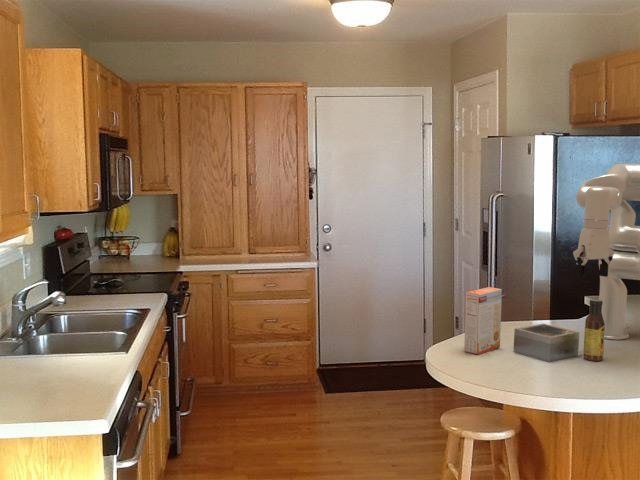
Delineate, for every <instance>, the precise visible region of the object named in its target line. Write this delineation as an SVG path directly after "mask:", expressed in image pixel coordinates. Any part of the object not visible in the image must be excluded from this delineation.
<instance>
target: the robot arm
mask: <svg viewBox="0 0 640 480" xmlns="http://www.w3.org/2000/svg"><path fill="white" fill-rule="evenodd" d="M627 201H635V202H640V163H618V164H616V163H615V164H614V165H612V166H611V167H610V168H609V170H607V172H606V173H605V174H603V175H600V176H596V177H593V178H590V179H587V180H585V181H584V182H583V183H582V184H581V185H580V186H579V188H578V190H577V192H576V203H577V205H578V206H579V207H580V208H582V209H585V210H584V220H583V228H582V229H581V230H580V234H579V239H578V246H577V249H575V250H573V252H572V255H573V257H574V261H575V263H576V266H577V272H576V273H577V275H576V276H577V278H583V279H584V278H586V277H587V265H586V264H587V262H588V261H589V260H590V261H591V260H594V261H595V260H598V268H599V269H598V270H599V273H598V276H599V297H598V299H599V300H602V301H603V304H602V316H603V320H604V323H605V335H604V340H605V339H606V340H617V341H618V340H627V339H629V337H630V335H629V333H628V332H626V330H629V329H630V328H631V327H632V326H631V324H630V323H626V314H627V299H628V298H627V297H628V289H627V287H626V285H625V283H624V281H623V280H622V279H625V280H626V279H627V280H634V281H635V280H636V281H640V225H635V221H636V215H637V214H636V212H635V210H634V209H633V208H632V206H631V205H630V204H629V203H628V202H627ZM610 211H611V214H610ZM610 215H611V216H610ZM609 217H610V221H609ZM615 250H617V251H615ZM636 252H637V253H636Z"/></svg>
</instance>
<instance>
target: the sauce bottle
mask: <svg viewBox="0 0 640 480" xmlns="http://www.w3.org/2000/svg"><path fill="white" fill-rule="evenodd" d="M602 304H603V301H602V300H599V298H598V299H597V298H594V299H593V298H591V299H589V314H588V315H587V316H586V318H585V323H584V334H583V336H584V337H583V338H584V339H583V340H584V341H583V359H585V360H587V361H594V362H599V361H602V360H603V359H604V348H605V338H604V335H605V323H604V320H603V316H602Z"/></svg>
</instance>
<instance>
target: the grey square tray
mask: <svg viewBox="0 0 640 480" xmlns="http://www.w3.org/2000/svg"><path fill="white" fill-rule="evenodd" d="M513 331H514V334H513V352H514V353H517V354H521V355H524V356H527V357H531V358H534V359H538V360H541V361H544V362H548V363H551V362H556V361H560V360H564V359H568V358H573V357H577V355H578V356H579V345H580V331H576V330H571V329H568V328H564V327H560V326H555V325H551V324H547V323H539V324H538V323H537V324H533V325H528V326H523V327H517V328H514V330H513Z"/></svg>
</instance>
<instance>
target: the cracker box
mask: <svg viewBox="0 0 640 480" xmlns="http://www.w3.org/2000/svg"><path fill="white" fill-rule="evenodd" d="M502 293H503V289H502V288H497V287H492V286H487V287H483V288H480V289H475V290H470V291H466V292H465V310H464V311H465V312H464V313H465V315H464V348H463V350H464V351H463V352H465V353H470V354H472V355H473V354H474V355H477V356H478V355H481V354H484V353H487V352H489V351H492V350H496V349H499V348H501V329H502V327H501V326H502V300H503V299H502V298H503V297H502Z"/></svg>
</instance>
